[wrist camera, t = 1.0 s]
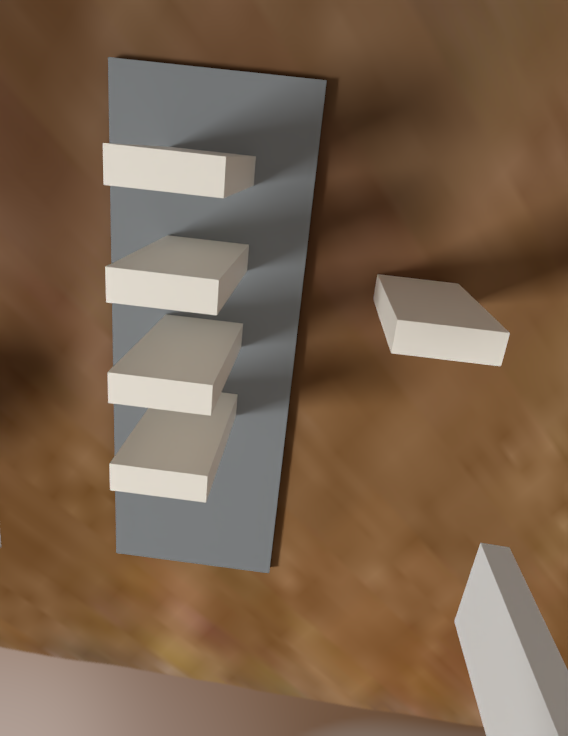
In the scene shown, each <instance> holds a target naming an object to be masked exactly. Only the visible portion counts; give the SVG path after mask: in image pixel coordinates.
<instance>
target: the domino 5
mask: <svg viewBox="0 0 568 736" xmlns="http://www.w3.org/2000/svg"><path fill="white" fill-rule="evenodd" d="M373 300H374V303H375V306H376V309H377V312H378V315H379V318H380V321H381V324H382V327H383V330H384V333H385V336H386V339H387V342H388V345H389V348H390V351H391V353H394V354H402V355H411V356H419V357H427V358H436V359H444V360H452V361H461V362H469V363H477V364H486V365H494V366H501V364H502V360H503V357H504V353H505V349H506V346H507V342H508V338H509V335H510V333H509V332H508V331H507V330H506V329H505V328H504V327H503V326H502V325H501V324H500V323H499V322H498V321H497V320H496V319H495V318H494V317H493V316H492V315H491V314H490V313H489V312H488V311H486V310H485V309H484V308H483V307H482V306H481V305H480V304H479V303H478V302H477V301H476V300H475V299H474V298H473V297H472V296H471V295H470V294H469V293H468V292H467V291H466V290H465V289H464V288H462V287H461V286H460V285H459V284H458V283H449V282H441V281H432V280H423V279H415V278H406V277H398V276H389V275H380V274H377V279H376V285H375V291H374V297H373Z"/></svg>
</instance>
